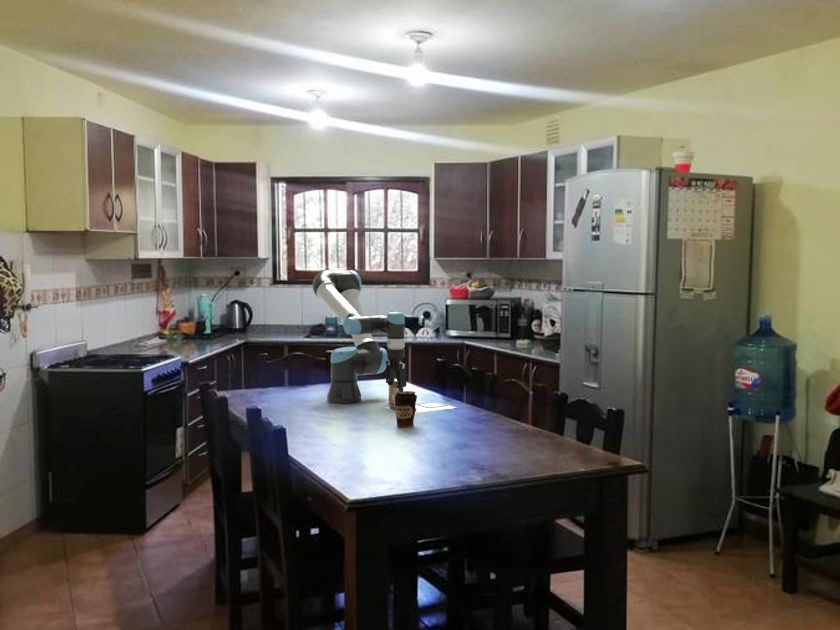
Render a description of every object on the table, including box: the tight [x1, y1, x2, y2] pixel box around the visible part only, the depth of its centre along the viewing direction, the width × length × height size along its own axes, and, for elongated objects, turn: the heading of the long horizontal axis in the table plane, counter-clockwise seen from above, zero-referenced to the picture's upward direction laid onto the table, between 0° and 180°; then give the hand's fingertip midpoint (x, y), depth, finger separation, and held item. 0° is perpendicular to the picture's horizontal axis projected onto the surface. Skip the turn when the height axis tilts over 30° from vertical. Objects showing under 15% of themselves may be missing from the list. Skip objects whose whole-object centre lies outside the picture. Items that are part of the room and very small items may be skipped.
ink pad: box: [389, 405, 416, 412], centre depth 316 cm, size 10×7×2 cm
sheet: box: [383, 400, 457, 414], centre depth 322 cm, size 17×26×1 cm, turn 121°
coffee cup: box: [395, 390, 418, 428], centre depth 286 cm, size 9×8×13 cm
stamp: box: [388, 380, 398, 406], centre depth 329 cm, size 4×4×10 cm
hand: (395, 401), depth 329 cm, fingers open, 6 cm apart
